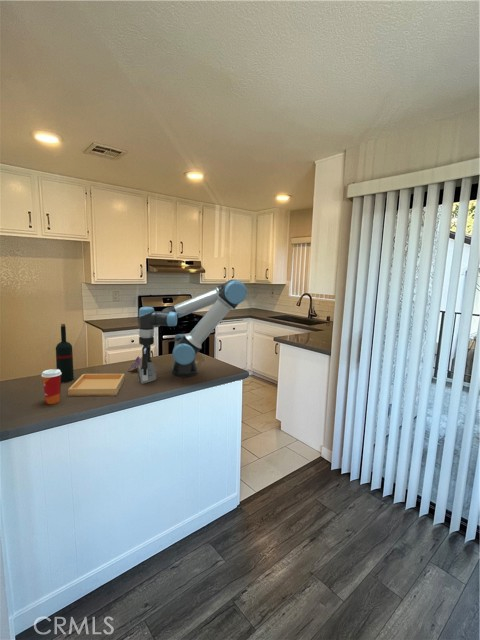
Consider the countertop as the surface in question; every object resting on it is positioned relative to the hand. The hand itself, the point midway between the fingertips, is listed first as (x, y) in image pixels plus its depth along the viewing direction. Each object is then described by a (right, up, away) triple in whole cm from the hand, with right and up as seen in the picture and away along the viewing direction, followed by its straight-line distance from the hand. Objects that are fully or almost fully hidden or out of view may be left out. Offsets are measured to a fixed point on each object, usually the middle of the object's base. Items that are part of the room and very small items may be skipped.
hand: (146, 377), depth 172 cm
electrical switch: (0, -2, 0) cm, 2 cm away
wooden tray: (-20, -3, -12) cm, 24 cm away
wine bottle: (-42, -1, -3) cm, 42 cm away
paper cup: (-33, -6, -30) cm, 45 cm away
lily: (-10, +1, +16) cm, 19 cm away
